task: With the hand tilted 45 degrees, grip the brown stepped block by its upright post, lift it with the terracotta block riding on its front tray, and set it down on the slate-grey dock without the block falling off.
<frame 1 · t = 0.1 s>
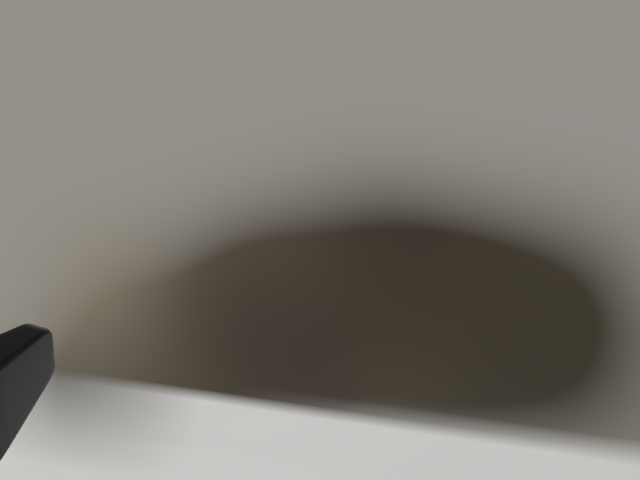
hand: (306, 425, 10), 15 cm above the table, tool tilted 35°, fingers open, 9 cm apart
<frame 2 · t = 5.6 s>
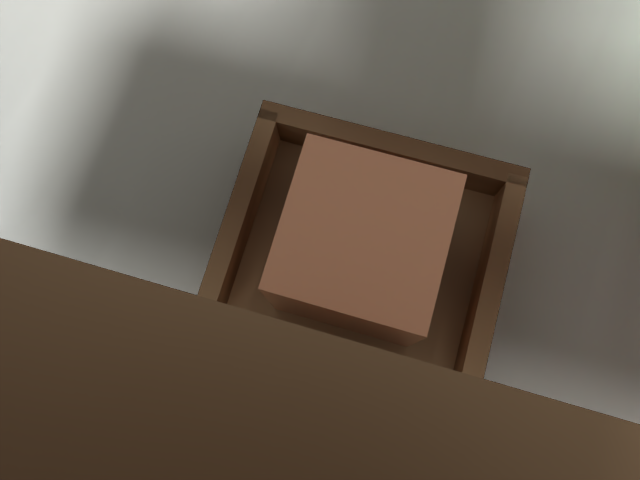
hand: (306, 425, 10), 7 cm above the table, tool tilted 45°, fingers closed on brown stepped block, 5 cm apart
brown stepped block: (304, 460, 16), on the table, touching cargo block, gripper
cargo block: (358, 263, 16), point 1 cm above the table, touching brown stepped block
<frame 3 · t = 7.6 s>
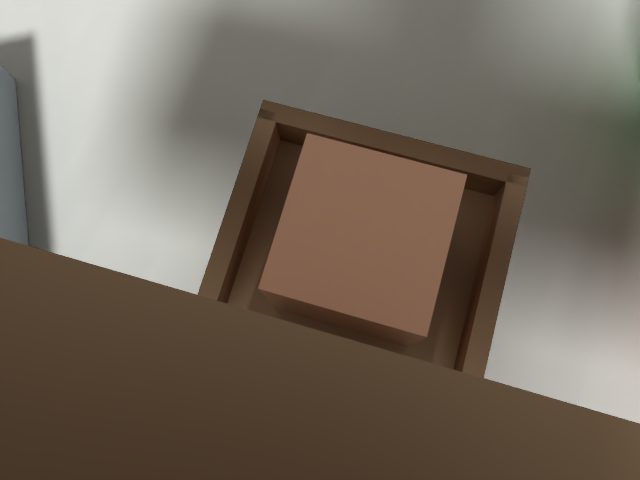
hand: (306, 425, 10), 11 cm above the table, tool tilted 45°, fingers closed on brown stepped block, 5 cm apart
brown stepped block: (304, 460, 16), point 4 cm above the table, touching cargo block, gripper
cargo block: (358, 263, 16), point 5 cm above the table, touching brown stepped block
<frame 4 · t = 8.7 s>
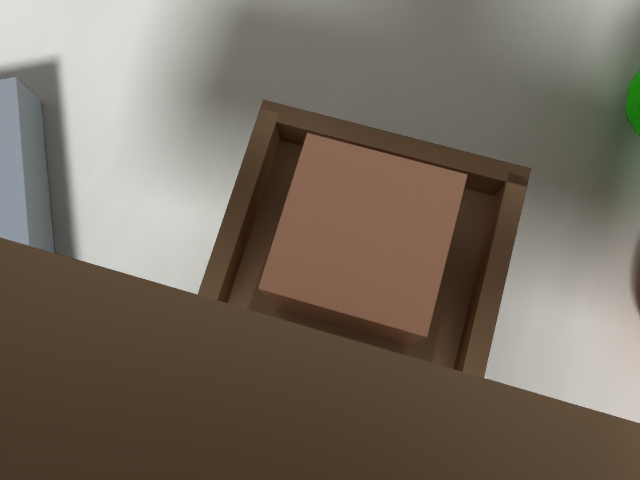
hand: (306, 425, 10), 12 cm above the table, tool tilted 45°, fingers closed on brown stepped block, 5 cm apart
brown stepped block: (304, 460, 16), point 6 cm above the table, touching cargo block, gripper
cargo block: (358, 263, 16), point 7 cm above the table, touching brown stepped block
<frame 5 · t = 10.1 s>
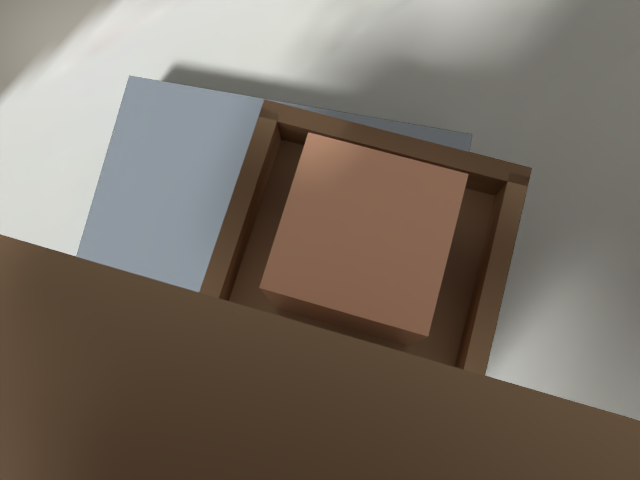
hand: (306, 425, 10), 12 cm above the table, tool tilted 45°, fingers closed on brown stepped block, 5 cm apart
dock: (254, 335, 22), on the table
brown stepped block: (304, 459, 16), point 6 cm above the table, touching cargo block, gripper
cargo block: (359, 262, 16), point 7 cm above the table, touching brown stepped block
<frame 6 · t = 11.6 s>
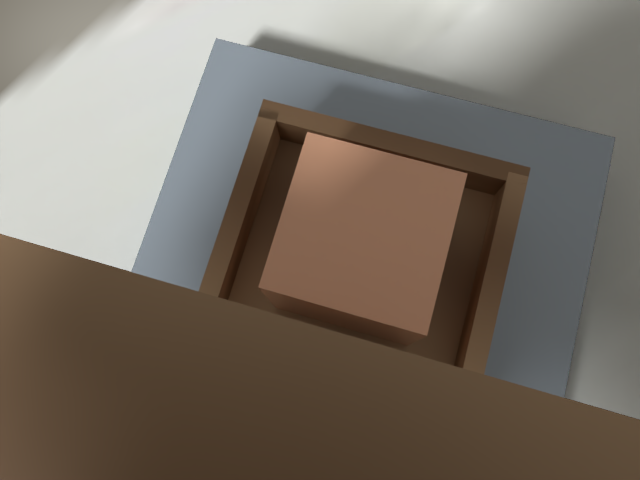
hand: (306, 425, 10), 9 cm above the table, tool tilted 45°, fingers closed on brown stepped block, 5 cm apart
dock: (336, 350, 19), on the table
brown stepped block: (304, 459, 16), point 3 cm above the table, touching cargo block, gripper
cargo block: (358, 262, 16), point 4 cm above the table, touching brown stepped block
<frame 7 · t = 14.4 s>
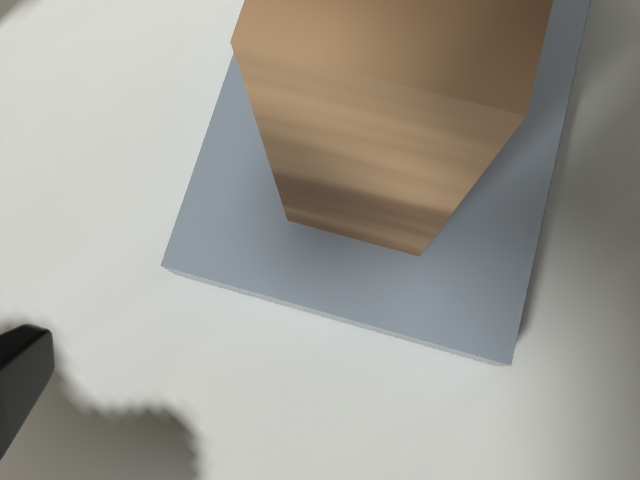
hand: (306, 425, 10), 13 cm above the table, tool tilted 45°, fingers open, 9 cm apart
dock: (387, 121, 25), on the table
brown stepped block: (370, 175, 23), point 2 cm above the table, touching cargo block, dock
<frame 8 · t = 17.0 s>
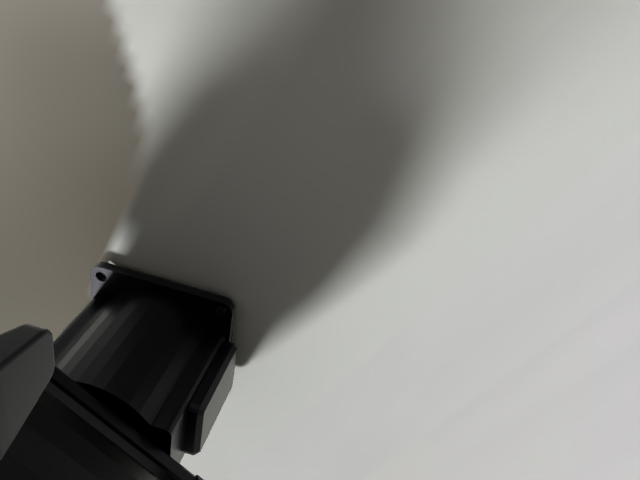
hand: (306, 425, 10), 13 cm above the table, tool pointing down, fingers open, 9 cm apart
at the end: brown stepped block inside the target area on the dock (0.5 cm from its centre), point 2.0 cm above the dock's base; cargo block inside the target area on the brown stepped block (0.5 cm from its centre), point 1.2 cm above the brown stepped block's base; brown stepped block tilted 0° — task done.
